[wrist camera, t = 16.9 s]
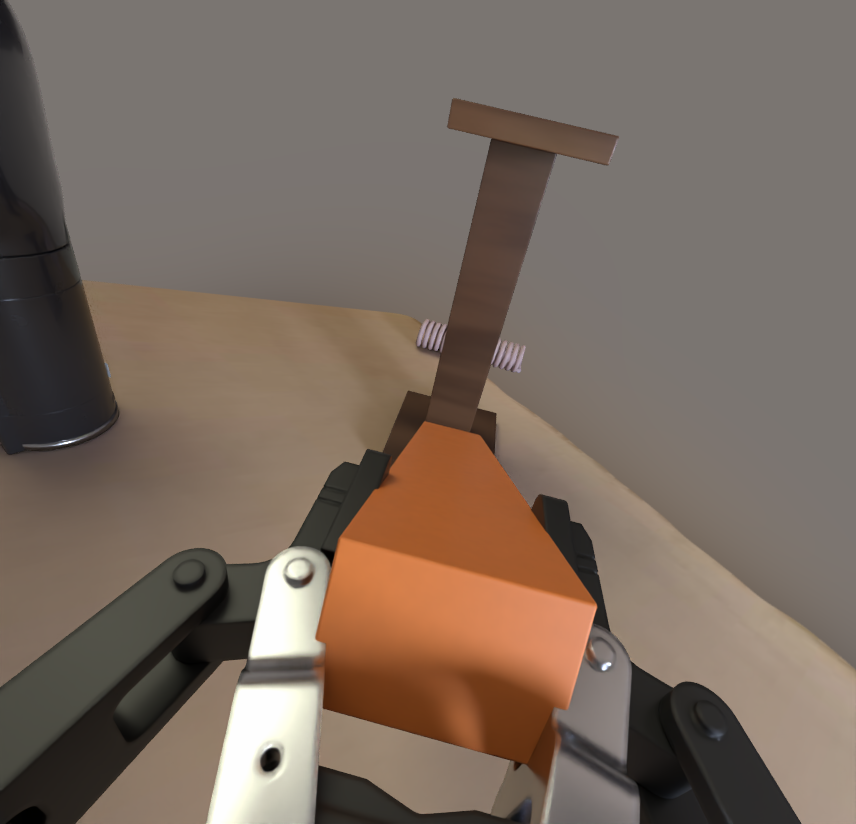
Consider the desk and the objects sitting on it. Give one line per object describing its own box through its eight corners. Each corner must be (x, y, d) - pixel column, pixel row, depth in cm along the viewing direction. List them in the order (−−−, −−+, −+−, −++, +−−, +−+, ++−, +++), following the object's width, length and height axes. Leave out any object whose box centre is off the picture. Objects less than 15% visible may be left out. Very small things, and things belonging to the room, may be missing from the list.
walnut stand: (487, 513, 42) (637, 140, 24) (372, 483, 42) (435, 93, 25) (494, 412, 58) (587, 140, 40) (409, 390, 58) (464, 112, 40)
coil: (528, 342, 69) (423, 314, 70) (529, 351, 65) (418, 321, 66) (520, 368, 71) (418, 340, 72) (520, 378, 67) (412, 349, 68)
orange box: (551, 773, 7) (600, 605, 7) (298, 704, 7) (338, 536, 7) (470, 473, 32) (480, 435, 32) (414, 458, 32) (424, 421, 32)
